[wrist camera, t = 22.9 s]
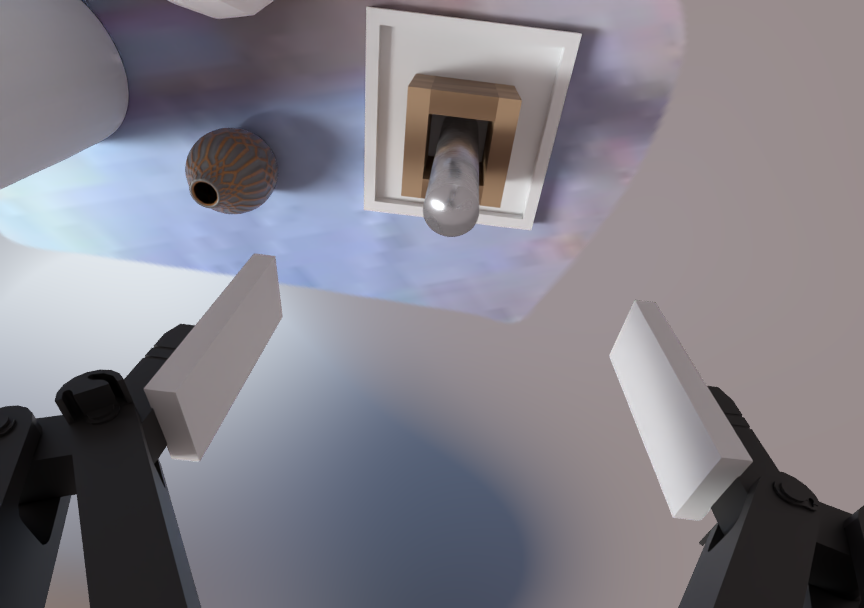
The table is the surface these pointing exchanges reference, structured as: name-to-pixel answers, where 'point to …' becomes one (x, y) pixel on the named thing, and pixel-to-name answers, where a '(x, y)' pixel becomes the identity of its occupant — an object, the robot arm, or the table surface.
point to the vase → (231, 171)
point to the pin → (454, 179)
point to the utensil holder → (55, 84)
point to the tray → (470, 60)
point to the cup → (224, 7)
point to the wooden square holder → (464, 102)
